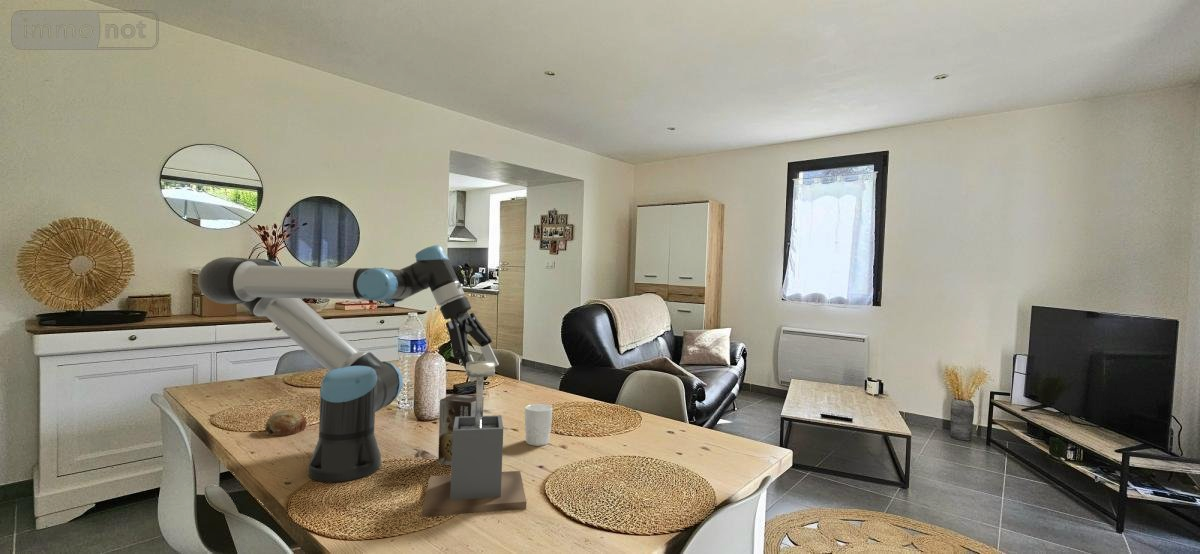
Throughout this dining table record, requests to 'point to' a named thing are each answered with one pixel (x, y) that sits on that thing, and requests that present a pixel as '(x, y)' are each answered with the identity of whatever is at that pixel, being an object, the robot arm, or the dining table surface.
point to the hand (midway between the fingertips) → (486, 373)
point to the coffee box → (452, 422)
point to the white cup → (538, 424)
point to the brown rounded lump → (285, 423)
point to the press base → (441, 505)
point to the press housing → (476, 459)
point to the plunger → (479, 388)
